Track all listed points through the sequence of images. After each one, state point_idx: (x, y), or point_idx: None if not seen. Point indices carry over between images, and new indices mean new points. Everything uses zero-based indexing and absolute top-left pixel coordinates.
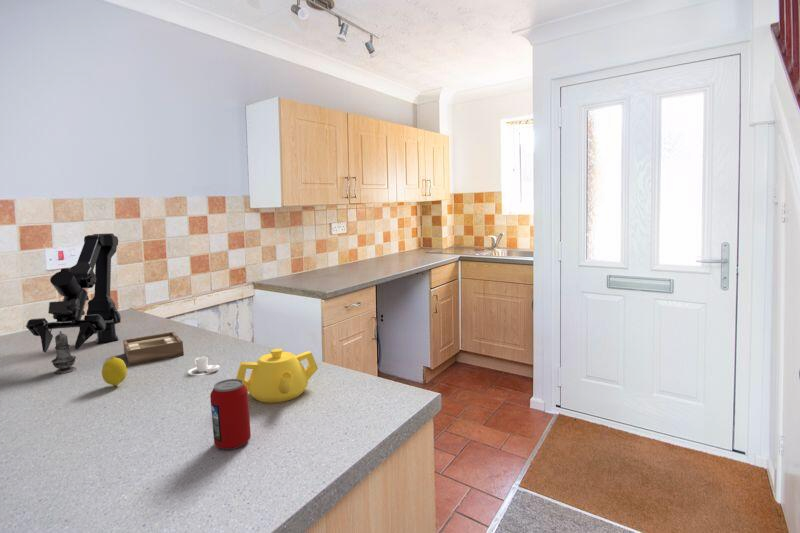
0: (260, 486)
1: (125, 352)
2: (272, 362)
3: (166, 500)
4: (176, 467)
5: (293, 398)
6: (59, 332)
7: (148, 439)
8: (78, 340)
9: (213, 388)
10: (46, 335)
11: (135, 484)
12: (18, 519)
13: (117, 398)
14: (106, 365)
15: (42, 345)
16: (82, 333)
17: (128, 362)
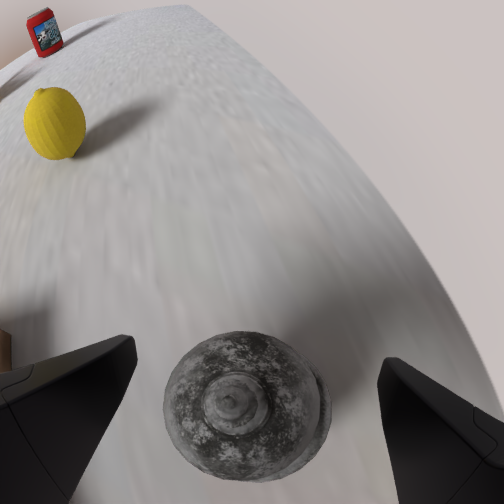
0: (68, 32)
1: None
2: None
3: (109, 20)
4: (93, 32)
5: None
6: (246, 391)
7: (94, 46)
8: (76, 356)
9: (46, 9)
10: (465, 470)
11: (119, 22)
12: (182, 5)
13: (87, 106)
14: (63, 89)
15: (426, 378)
16: (5, 377)
17: (6, 359)
